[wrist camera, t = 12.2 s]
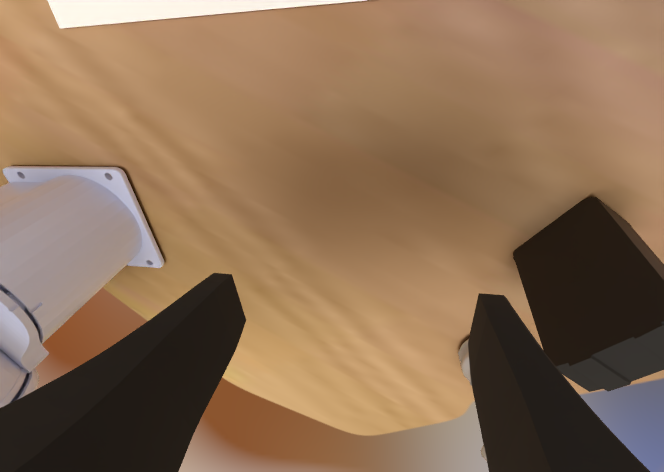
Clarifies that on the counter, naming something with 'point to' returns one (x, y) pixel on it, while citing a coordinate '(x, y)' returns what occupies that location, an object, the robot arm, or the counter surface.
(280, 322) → the counter surface
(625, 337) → the ink cartridge
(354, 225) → the counter surface
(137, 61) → the counter surface
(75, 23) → the paper sheet
